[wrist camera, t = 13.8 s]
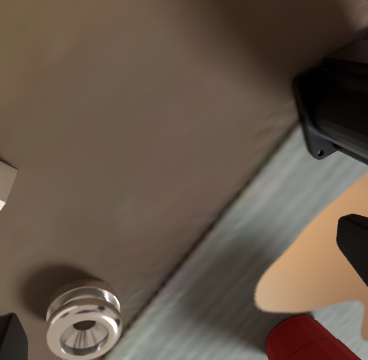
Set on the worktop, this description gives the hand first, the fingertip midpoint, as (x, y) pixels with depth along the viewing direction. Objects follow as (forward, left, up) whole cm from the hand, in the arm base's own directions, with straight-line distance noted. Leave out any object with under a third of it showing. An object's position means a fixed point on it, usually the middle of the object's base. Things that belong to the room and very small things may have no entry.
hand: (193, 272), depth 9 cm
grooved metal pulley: (-10, +9, -13) cm, 19 cm away
